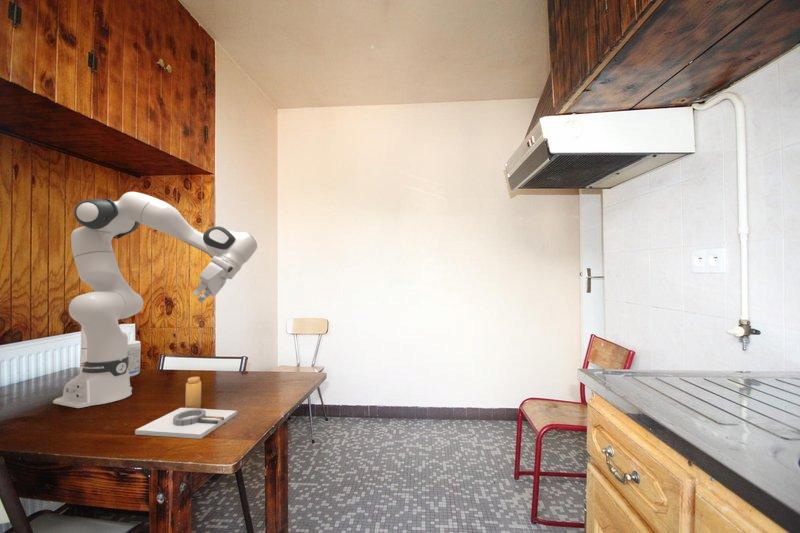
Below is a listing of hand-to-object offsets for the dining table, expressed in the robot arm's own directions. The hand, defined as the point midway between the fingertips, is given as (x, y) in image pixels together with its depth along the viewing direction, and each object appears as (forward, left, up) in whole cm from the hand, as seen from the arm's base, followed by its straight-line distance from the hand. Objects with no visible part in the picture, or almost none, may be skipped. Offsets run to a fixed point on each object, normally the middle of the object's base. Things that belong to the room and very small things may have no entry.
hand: (197, 298), depth 116 cm
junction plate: (+11, -16, -36) cm, 41 cm away
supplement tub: (-55, +25, -37) cm, 71 cm away
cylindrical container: (-71, +23, -37) cm, 83 cm away
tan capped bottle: (+3, -5, -37) cm, 37 cm away
